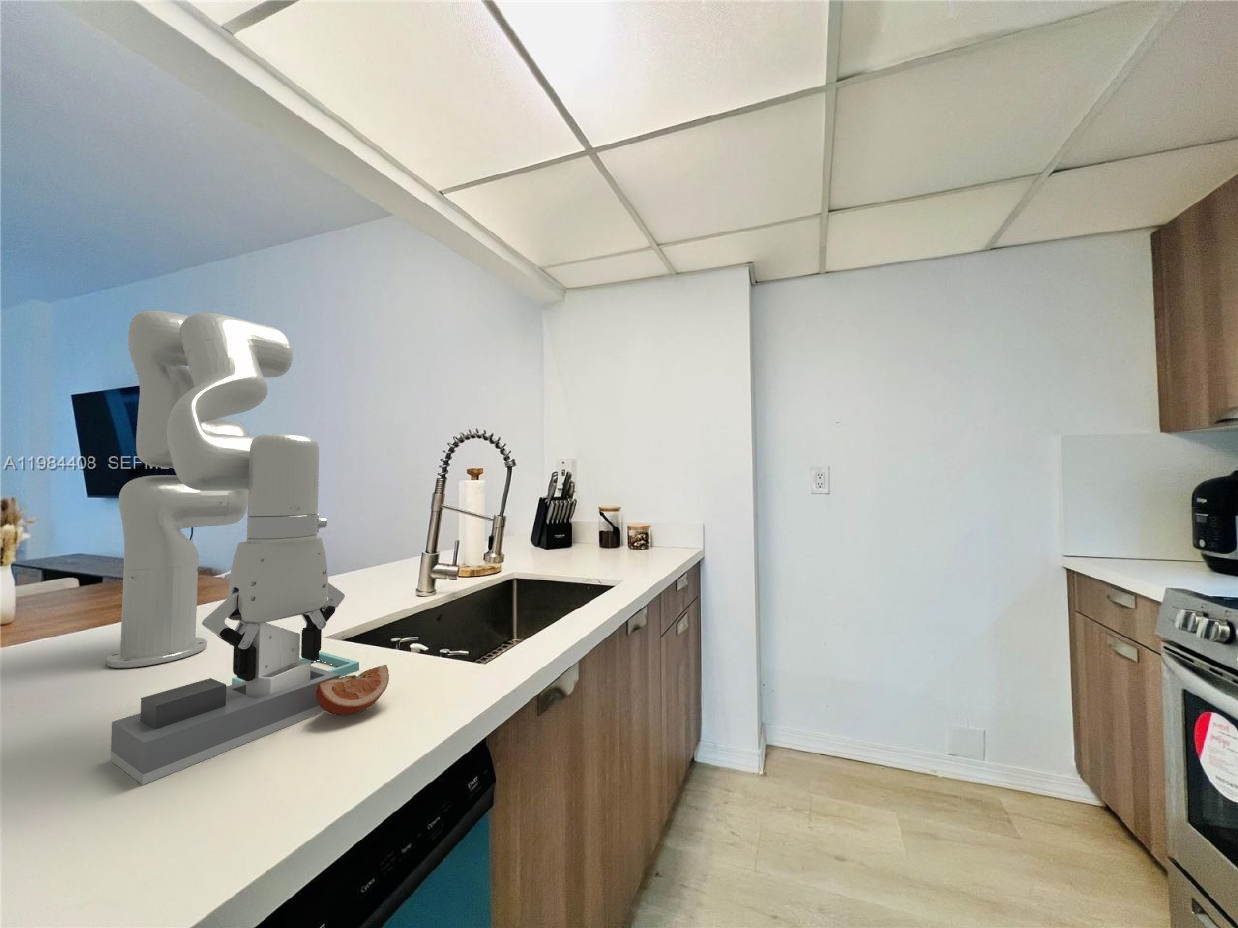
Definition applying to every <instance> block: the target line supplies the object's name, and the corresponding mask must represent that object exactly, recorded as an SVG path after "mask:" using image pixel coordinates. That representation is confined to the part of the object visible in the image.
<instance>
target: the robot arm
mask: <svg viewBox="0 0 1238 928" xmlns="http://www.w3.org/2000/svg"><path fill="white" fill-rule="evenodd" d="M127 333H128V334H127V345H128V350H129V355H130V359H131V361H132V364H133V366H134V367H133V368H134V369H135V372H136V375H137V380H138V384H139V397H138V398H139V399H138V410H137V423H136V424H137V425H136V436H135V437H136V438H135V445H136V448H135V449H136V455H137V457H138V459H139V461H141V462H142V463H143V464H145V465H147V466H150V467H154V468H155V467H157V468H164V469H165V468H170V469H174V472H175V474H176V475H175V474H174V475H170V474H169V475H168V474H166V475H163V474H162V475H161V474H160V475H146V476H141V477H136V478H133V479H132V480H129V481H128V482H126V483H125V484H124V485H123V486H122V488H121V489H120V491H119V494H118V509H119V515H120V519H121V525H122V532H123V577H122V578H123V579H122V596H121V597H122V599H121V600H122V601H121V621H120V622H121V624H120V642H119V643H120V647H119V650H117V651H115V652H113V653H111V654H109V655H108V656H107V657H106V661H105V665H106V666H108V667H109V668H117V669H126V668H127V669H128V668H139V667H146V666H151V665H158V664H163V663H167V662H172V661H176V660H180V659H184V658H187V657H190V656H193V655H195V654H198V653H200V652H202V651H204V650H205V649H206V648H207V646H208V645H207V643H208V641H207V639H205V638H202V637H197V635H196V634H197V633H196V632H197V611H198V610H197V609H198V608H197V607H198V586H199V584H198V581H199V580H198V579H199V557H200V556H199V551H198V548H197V546H196V545H195V544H194V542H192V540H191V539H189V538H188V537H187V536H186V535H185V533H183V532H182V530H183V529H190V528H200V527H201V528H203V527H218V526H229V525H233V524H237V523H238V522H240V521H241V520H242V519H243V518H244V517H245V515H246V512H247V519H246V521H247V523H246V541H241V542H238V543H237V545H236V549H235V554H234V557H233V561H232V564H231V569H230V575H229V576H230V577H229V581H228V590H227V597H226V599H225V600H224V601H223V602H222V603H220V605H218V606H217V607H216V608H215V609H214V610H213V611H212V612H211V613H209V614H208V615H207V616H206V617H205V618H204V619H203V620H202V622H201V624H202V626H203V627H205V628H206V629H208V630H209V632H211V633H212V634H214V635H216V637H217V638H220V640H223V641H225V642H226V643H227V644H229V645H230V646H231V647H233V655H232V656H233V659H232V672H233V674H234V676H236V677H237V678H240V679H242V680H245V681H247V682H248V681H252V680H254V678H255V677H256V647H254V646H252V641H253V639H254V637H255V635H256V633H257V632H258V630H259V628H260V626H261V624H262V623H271V622H274V621H278V620H283V619H287V618H292V617H298V616H301V617H302V619H303V621H304V623H305V627H303V628H302V630H301V637H300V641H301V642H300V658H305V659H308V660H311V661H316V660H318V659H319V652H321V650H322V636H323V631H322V630H323V629H325V628H326V626H327V622H328V621H329V620H330V618H332V616H333V615H334V614H335V612H336V609H337V608H338V607H339V606H340V604H341V603H342V602H343V600H344V599H345V598H346V597H345V596H346V595H345V593H344V592H343V591H341V590H339V589H338V588H337V587H335V586H334V585H333V584H331V583H330V582H329V576H328V575H329V574H328V564H327V557H326V556H327V555H326V549H325V545H324V541H323V538H322V537H321V536H318V534H319V532H320V531H319V530H320V529H322V528H326V527H327V526H328V525H327V524H328V521H327V519H326V518H325V517H320V514H319V486H320V485H319V484H320V483H319V482H320V481H319V480H320V479H319V478H320V474H319V473H320V447H319V444H318V441H317V440H316V439H314V438H313V437H309V436H307V435H306V436H305V435H299V434H287V433H284V434H282V433H270V434H269V433H268V434H261V435H257V436H251V435H250V433H249V430H248V429H247V428H246V427H245V426H244V425H242V424H241V423H239V422H237V421H234V420H233V421H232V420H226V419H222V418H225V417H230V416H235V415H237V414H238V415H239V414H241V413H245V412H248V411H251V410H253V409H255V408H256V407H259V406H260V405H261V404H262V403H263V402H264V401H265V399H266V398H267V396H268V391H269V390H268V384H267V381H266V379H265V378H278V377H282V376H283V375H286V374H287V373H288V372H289V370H290V369H291V367H292V364H293V361H294V360H293V359H294V352H293V351H294V350H293V346H292V344H291V341H290V340H289V339H288V337H287V336H286V334H285V333H284V332H283V331H281V330H280V329H278V328H275V327H273V326H269V325H265V324H261V323H258V322H254V321H250V320H246V319H242V318H238V317H234V316H229V315H226V314H221V313H215V312H199V313H194V314H191V315H186V314H183V313H182V314H181V313H177V312H170V311H164V310H144V311H140V312H138V313H136V314H135V315H134V316H133V317H132V318H131V320H130V322H129V326H128V331H127ZM227 618H228V619H229V620H231V621H238V623H237V625H236V627H235V628H234V629H233V628H231V627H230V626H229V625H228V624H226V623H225V622H226V619H227Z"/></svg>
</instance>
